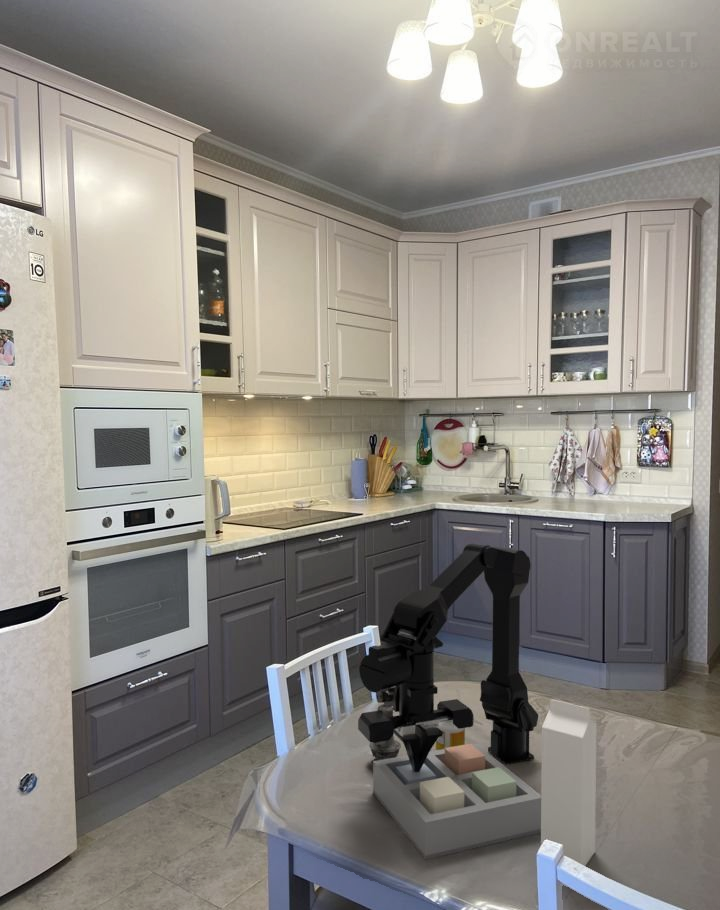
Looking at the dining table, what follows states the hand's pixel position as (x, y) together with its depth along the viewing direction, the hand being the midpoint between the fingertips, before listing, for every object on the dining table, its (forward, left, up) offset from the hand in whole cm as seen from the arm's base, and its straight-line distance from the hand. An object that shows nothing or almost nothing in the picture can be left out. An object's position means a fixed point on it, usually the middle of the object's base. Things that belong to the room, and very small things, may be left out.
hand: (416, 771), depth 113 cm
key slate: (0, 0, -4) cm, 4 cm away
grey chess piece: (0, -14, -6) cm, 15 cm away
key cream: (0, +9, -2) cm, 10 cm away
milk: (-14, +21, -6) cm, 26 cm away
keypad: (-4, +5, -5) cm, 8 cm away
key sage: (-9, +9, -2) cm, 13 cm away
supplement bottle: (-12, -11, -6) cm, 18 cm away
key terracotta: (-9, 0, -2) cm, 9 cm away
